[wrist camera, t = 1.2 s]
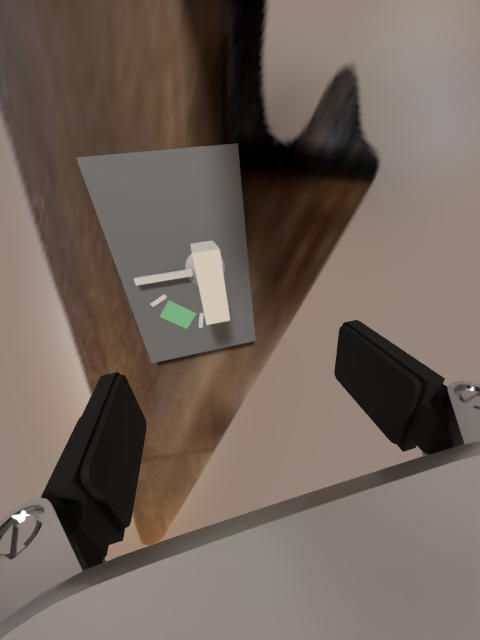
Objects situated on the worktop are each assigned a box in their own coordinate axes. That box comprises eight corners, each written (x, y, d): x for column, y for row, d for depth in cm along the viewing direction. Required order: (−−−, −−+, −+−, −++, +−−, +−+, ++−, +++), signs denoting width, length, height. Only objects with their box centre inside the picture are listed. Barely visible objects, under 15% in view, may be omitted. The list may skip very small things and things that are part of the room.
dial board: (85, 161, 21) (75, 157, 19) (233, 148, 23) (237, 143, 21) (153, 354, 31) (151, 363, 30) (251, 333, 33) (255, 341, 31)
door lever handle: (125, 250, 23) (104, 266, 17) (210, 237, 24) (219, 249, 18) (144, 308, 26) (132, 339, 20) (219, 294, 27) (230, 320, 21)
